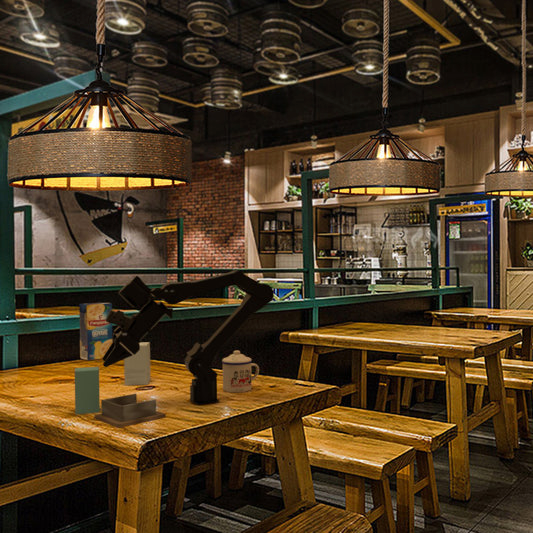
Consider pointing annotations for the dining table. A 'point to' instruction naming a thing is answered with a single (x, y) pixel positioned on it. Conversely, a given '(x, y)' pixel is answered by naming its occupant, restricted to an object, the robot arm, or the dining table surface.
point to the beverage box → (94, 330)
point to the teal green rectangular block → (87, 390)
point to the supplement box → (138, 366)
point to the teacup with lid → (238, 373)
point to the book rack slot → (127, 411)
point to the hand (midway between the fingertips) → (103, 363)
